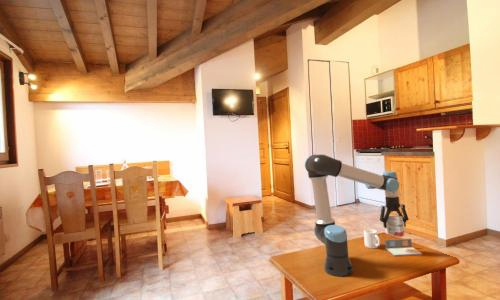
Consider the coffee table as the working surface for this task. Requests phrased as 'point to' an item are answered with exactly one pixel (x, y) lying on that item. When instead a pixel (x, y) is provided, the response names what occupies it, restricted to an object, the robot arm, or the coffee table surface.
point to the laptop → (401, 247)
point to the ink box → (395, 225)
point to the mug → (371, 238)
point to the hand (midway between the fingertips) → (395, 232)
